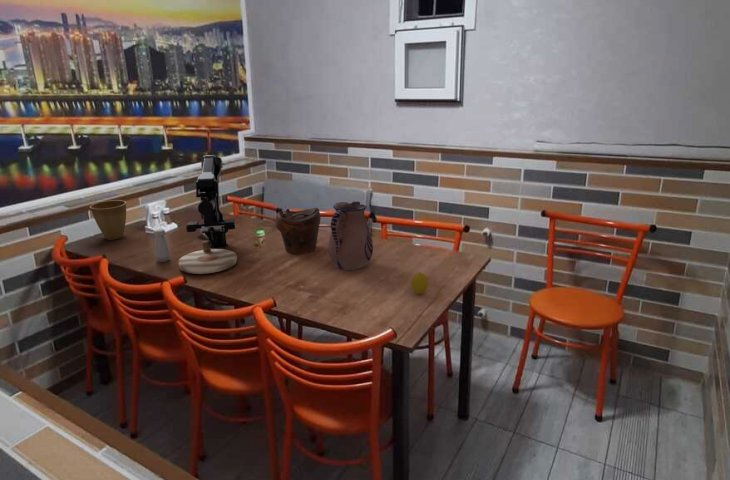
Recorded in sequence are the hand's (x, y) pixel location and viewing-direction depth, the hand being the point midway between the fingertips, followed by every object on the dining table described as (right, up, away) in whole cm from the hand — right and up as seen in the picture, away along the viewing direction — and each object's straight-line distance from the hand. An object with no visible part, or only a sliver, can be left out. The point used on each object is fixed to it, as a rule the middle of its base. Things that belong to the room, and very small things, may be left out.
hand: (213, 245), depth 205 cm
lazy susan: (0, -7, -7) cm, 10 cm away
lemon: (+81, -17, -33) cm, 89 cm away
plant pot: (-55, +3, +28) cm, 62 cm away
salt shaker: (-21, -6, 0) cm, 21 cm away
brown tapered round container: (+34, -2, +11) cm, 36 cm away
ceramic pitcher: (+56, -9, -10) cm, 57 cm away
